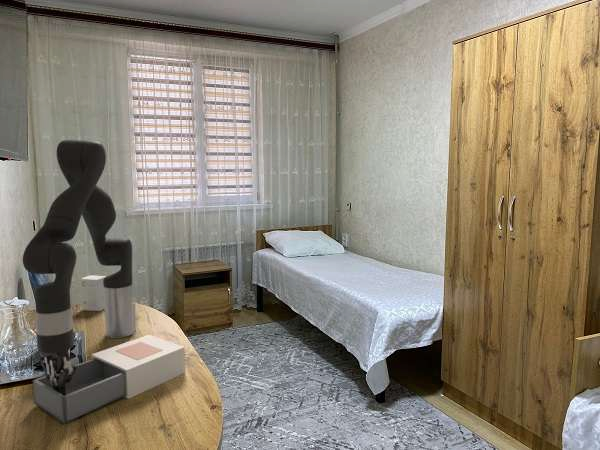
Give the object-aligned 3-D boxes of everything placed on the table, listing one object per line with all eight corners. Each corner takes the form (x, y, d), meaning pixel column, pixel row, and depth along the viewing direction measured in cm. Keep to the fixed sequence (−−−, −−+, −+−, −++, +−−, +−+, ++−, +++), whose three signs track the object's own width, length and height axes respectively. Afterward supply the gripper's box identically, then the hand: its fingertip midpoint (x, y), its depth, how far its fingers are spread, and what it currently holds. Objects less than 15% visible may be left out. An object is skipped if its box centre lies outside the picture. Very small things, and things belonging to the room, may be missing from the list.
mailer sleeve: (128, 398, 113) (126, 369, 112) (93, 381, 122) (91, 354, 121) (185, 372, 127) (184, 346, 126) (150, 358, 136) (149, 334, 135)
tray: (64, 423, 101) (62, 398, 100) (34, 403, 109) (32, 380, 108) (135, 391, 115) (134, 369, 114) (104, 376, 123) (102, 355, 123)
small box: (109, 306, 186) (107, 276, 185) (99, 311, 180) (97, 279, 179) (92, 305, 188) (90, 274, 186) (81, 310, 182) (79, 278, 180)
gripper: (86, 329, 104) (90, 400, 106) (57, 318, 112) (61, 384, 114) (52, 339, 98) (57, 414, 100) (24, 326, 106) (29, 396, 108)
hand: (59, 398), depth 107 cm, fingers closed
